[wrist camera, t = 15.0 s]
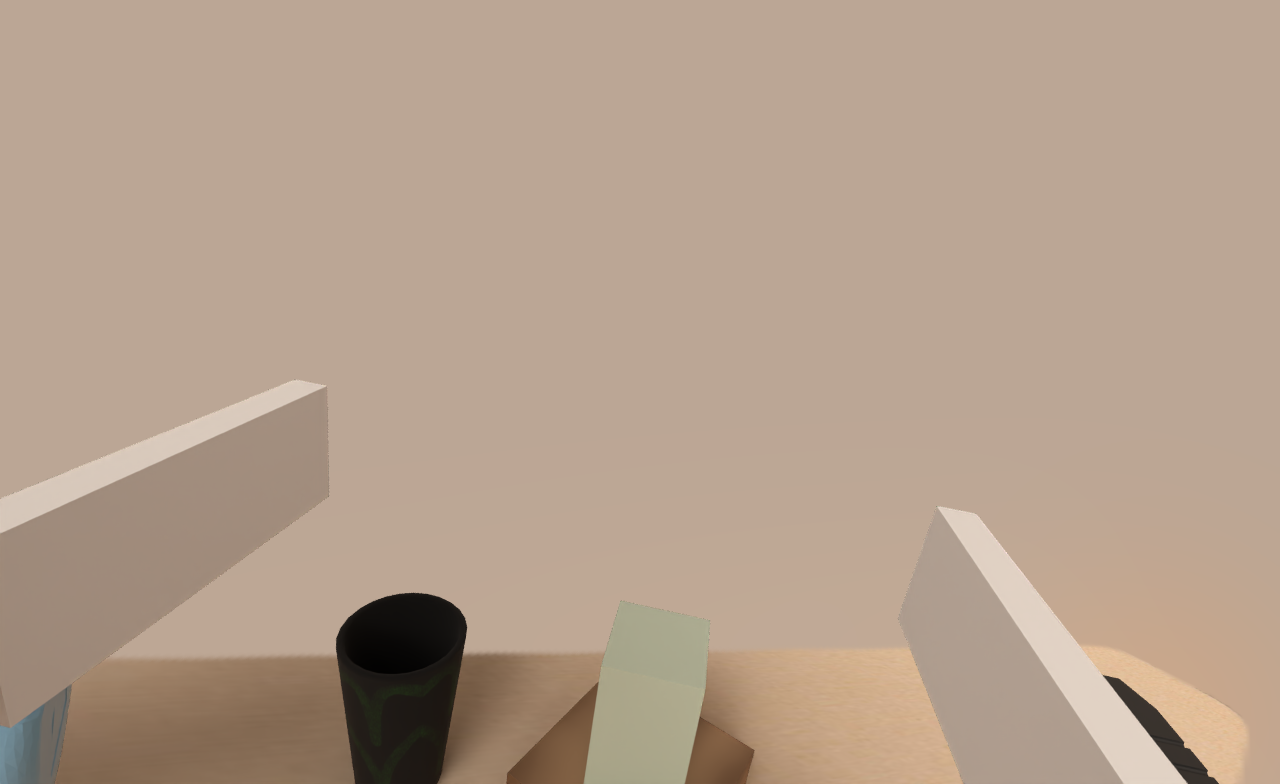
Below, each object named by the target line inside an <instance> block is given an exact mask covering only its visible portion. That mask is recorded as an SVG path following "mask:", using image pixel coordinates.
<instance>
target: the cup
mask: <svg viewBox="0 0 1280 784" xmlns="http://www.w3.org/2000/svg"><path fill="white" fill-rule="evenodd" d="M466 632H467V625H466V621H465V617H464V616H463V614H462V613H461V611H460V610H459V609H458V608H457V607H456V606H454V605H453V604H452V603H451V602H449V601H447V600H445V599H442V598H440V597H437V596H433V595H429V594H422V593H405V594H397V595H392V596H387V597H384V598H381V599H378V600H376V601H373V602H371V603H369V604H367V605H365V606H364V607H362V608H360V609H359V610H358V611H356V612H355V613H354V614H353V615H351V616H350V617H349V618H348V619H347V620H346V622H345V623H344V624H343V626H342V627H341V628H340V631H339V633H338V636H337V638H336V652H337V659H338V666H339V672H340V679H341V686H342V693H343V700H344V707H345V714H346V721H347V728H348V735H349V742H350V749H351V756H352V763H353V770H354V777H355V784H437V782H438V780H439V777H440V775H441V771H442V765H443V760H444V754H445V749H446V743H447V738H448V732H449V727H450V721H451V716H452V710H453V705H454V699H455V694H456V688H457V683H458V677H459V672H460V667H461V661H462V656H463V650H464V644H465V639H466Z"/></svg>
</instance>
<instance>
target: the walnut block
mask: <svg viewBox="0 0 1280 784" xmlns="http://www.w3.org/2000/svg"><path fill="white" fill-rule="evenodd" d="M598 684H599V682H598V683H597V684H596V685H595V686H594V687H593V688H592V689H591V690H590V691H589V692H588V693H587V694H586V695H585V696H584V697H583V698H582V699H581V700H580V701H579V702H578V703H577V704H576V705H575V706H574V707H573V708H572V709H571V710H570V711H569V712H568V713H567V714H566V715H565V716H564V717H563V718H562V719H561V720H560V721H559V722H558V723H557V724H556V725H555V726H554V727H553V728H552V729H551V730H550V731H549V732H548V733H547V734H546V735H545V736H544V737H543V738H542V739H541V740H540V741H539V742H538V743H537V744H536V745H535V746H534V747H533V748H532V749H531V750H530V751H529V752H528V753H527V754H526V755H525V756H524V757H523V758H522V759H521V760H520V761H519V762H518V763H517V764H516V765H515V766H514V767H513V768H512V769H511V770H510V771H509V772H508V775H507V784H584V778H585V771H586V765H587V758H588V751H589V744H590V738H591V731H592V724H593V718H594V711H595V704H596V698H597V691H598ZM753 754H754V750H753V749H751V748H750V747H748V746H747V745H745V744H743V743H742V742H740V741H738V740H737V739H735V738H733V737H732V736H730V735H729V734H727V733H725V732H724V731H722V730H720V729H719V728H717V727H715V726H714V725H712V724H711V723H709V722H707V721H706V720H704V719H702V718H701V717H699V721H698V726H697V730H696V735H695V739H694V744H693V749H692V753H691V758H690V762H689V767H688V771H687V776H686V780H685V784H745V783H746V780H747V776H748V772H749V769H750V765H751V761H752V758H753Z"/></svg>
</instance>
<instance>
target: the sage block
mask: <svg viewBox="0 0 1280 784" xmlns="http://www.w3.org/2000/svg"><path fill="white" fill-rule="evenodd" d="M709 629H710V620H706V619H702V618H697V617H693V616H688V615H683V614H679V613H674V612H670V611H665V610H661V609H656V608H652V607H647V606H643V605H638V604H634V603H629V602H625V601H620V605H619V608H618V611H617V615H616V618H615V621H614V624H613V628H612V631H611V635H610V638H609V641H608V645H607V648H606V651H605V655H604V658H603V661H602V665H601V671H600V677H599V684H598V691H597V698H596V704H595V711H594V718H593V724H592V731H591V738H590V744H589V751H588V758H587V765H586V771H585V778H584V784H685V780H686V776H687V771H688V767H689V762H690V758H691V753H692V749H693V744H694V739H695V735H696V730H697V726H698V721H699V717H700V712H701V708H702V703H703V698H704V694H705V689H706V674H707V659H708V643H709Z"/></svg>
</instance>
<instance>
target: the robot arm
mask: <svg viewBox="0 0 1280 784" xmlns="http://www.w3.org/2000/svg"><path fill="white" fill-rule="evenodd" d="M328 466H329V465H328V407H327V386H325V385H320V384H315V383H310V382H304V381H299V380H293V381H290V382H288V383H285V384H283V385H280V386H278V387H275V388H273V389H270V390H268V391H266V392H263V393H260V394H258V395H256V396H253V397H251V398H248V399H246V400H243V401H241V402H238V403H236V404H233V405H231V406H228V407H226V408H223V409H221V410H218V411H216V412H214V413H211V414H208V415H206V416H204V417H201V418H199V419H196V420H194V421H192V422H189V423H186V424H184V425H181V426H179V427H176V428H174V429H171V430H169V431H166V432H164V433H161V434H159V435H156V436H154V437H152V438H149V439H147V440H144V441H142V442H139V443H137V444H134V445H132V446H129V447H127V448H124V449H122V450H119V451H117V452H114V453H112V454H109V455H107V456H105V457H102V458H100V459H97V460H95V461H92V462H90V463H87V464H85V465H82V466H80V467H77V468H75V469H72V470H70V471H67V472H65V473H62V474H60V475H57V476H55V477H52V478H50V479H47V480H45V481H42V482H40V483H38V484H35V485H33V486H30V487H28V488H25V489H23V490H20V491H18V492H15V493H12V494H11V495H8V496H5V497H3V498H0V784H55V779H56V775H57V771H58V766H59V762H60V757H61V752H62V747H63V741H64V735H65V729H66V723H67V716H68V709H69V701H70V694H71V686H72V683H73V682H75V681H76V680H77V679H79V678H80V677H81V676H83V675H84V674H86V673H87V672H88V671H90V670H91V669H92V668H94V667H95V666H96V665H98V664H99V663H101V662H102V661H103V660H105V659H106V658H107V657H109V656H110V655H112V654H113V653H114V652H116V651H117V650H118V649H119V648H121V647H122V646H124V645H125V644H127V643H128V642H129V641H131V640H132V639H134V638H135V637H136V636H138V635H139V634H140V633H142V632H143V631H145V630H146V629H147V628H149V627H150V626H151V625H153V624H154V623H156V622H157V621H158V620H160V619H161V618H162V617H164V616H165V615H167V614H168V613H169V612H171V611H172V610H173V609H175V608H176V607H177V606H179V605H180V604H182V603H183V602H184V601H186V600H187V599H189V598H190V597H191V596H193V595H194V594H195V593H197V592H198V591H199V590H201V589H202V588H204V587H205V586H206V585H208V584H209V583H211V582H212V581H213V580H214V579H216V578H217V577H219V576H220V575H222V574H223V573H224V572H225V571H227V570H228V569H230V568H231V567H233V566H234V565H235V564H237V563H238V562H239V561H241V560H242V559H243V558H245V557H246V556H248V555H249V554H250V553H252V552H253V551H254V550H256V549H257V548H259V547H260V546H261V545H263V544H264V543H266V542H267V541H268V540H270V539H271V538H272V537H274V536H275V535H277V534H278V533H279V532H280V531H282V530H283V529H285V528H286V527H288V526H289V525H290V524H292V523H293V522H294V521H296V520H297V519H299V518H300V517H301V516H303V515H304V514H305V513H307V512H308V511H309V510H311V509H312V508H314V507H315V506H316V505H318V504H319V503H321V502H322V501H323V500H325V499H326V498H327V497H329V468H328ZM898 620H899V623H900V625H901V627H902V630H903V632H904V635H905V638H906V640H907V643H908V645H909V648H910V650H911V653H912V655H913V658H914V660H915V663H916V665H917V668H918V670H919V673H920V675H921V678H922V680H923V683H924V685H925V688H926V690H927V693H928V695H929V698H930V700H931V703H932V706H933V708H934V711H935V713H936V716H937V718H938V721H939V723H940V726H941V728H942V731H943V733H944V736H945V738H946V741H947V743H948V746H949V748H950V751H951V753H952V756H953V758H954V761H955V763H956V766H957V768H958V771H959V773H960V776H961V778H962V781H963V783H964V784H1219V783H1218V782H1217V781H1216V780H1215V778H1213V777H1209V776H1208V774H1207V771H1208V770H1207V769H1206V768H1205V767H1204V765H1203V764H1202V763H1201V762H1200V761H1199V759H1198V758H1197V757H1196V756H1195V755H1194V753H1193V752H1192V751H1191V750H1190V749H1188V748H1185V747H1184V741H1183V740H1182V739H1181V738H1180V737H1179V735H1178V734H1177V733H1176V732H1175V731H1174V730H1173V728H1172V727H1171V726H1170V725H1169V724H1168V722H1167V721H1166V720H1165V719H1164V718H1163V716H1162V715H1161V714H1160V713H1159V712H1158V710H1157V709H1156V708H1154V707H1153V706H1152V705H1151V704H1149V703H1148V702H1147V701H1146V700H1145V699H1143V698H1142V697H1141V696H1140V695H1138V694H1137V693H1136V692H1135V691H1133V690H1132V689H1131V688H1130V687H1129V686H1127V685H1126V684H1125V683H1124V682H1122V681H1121V680H1120V679H1118V678H1113V677H1109V676H1104V675H1102V674H1101V673H1100V671H1099V670H1098V669H1097V668H1096V666H1095V665H1094V664H1093V662H1092V661H1091V660H1090V659H1089V657H1088V656H1087V655H1086V654H1085V652H1084V651H1083V650H1082V648H1081V647H1080V646H1079V645H1078V643H1077V642H1076V641H1075V640H1074V638H1073V637H1072V636H1071V634H1070V633H1069V632H1068V631H1067V629H1066V628H1065V627H1064V626H1063V624H1062V623H1061V622H1060V620H1059V619H1058V618H1057V617H1056V615H1055V614H1054V613H1053V611H1052V610H1051V609H1050V608H1049V606H1048V605H1047V604H1046V603H1045V601H1044V600H1043V599H1042V598H1041V596H1040V595H1039V594H1038V592H1037V591H1036V590H1035V588H1034V587H1033V586H1032V585H1031V583H1030V582H1029V581H1028V579H1027V578H1026V577H1025V576H1024V574H1023V573H1022V572H1021V571H1020V569H1019V568H1018V567H1017V566H1016V564H1015V563H1014V562H1013V560H1012V559H1011V558H1010V557H1009V555H1008V554H1007V553H1006V551H1005V550H1004V549H1003V548H1002V546H1001V545H1000V544H999V542H998V541H997V540H996V539H995V537H994V536H993V535H992V534H991V532H990V531H989V530H988V528H987V527H986V526H985V525H984V523H983V522H982V521H981V519H980V518H979V517H978V516H977V515H976V514H975V513H970V512H965V511H959V510H954V509H950V508H945V507H940V506H936V509H935V512H934V515H933V518H932V521H931V524H930V527H929V530H928V533H927V536H926V538H925V541H924V544H923V547H922V550H921V553H920V556H919V559H918V562H917V564H916V568H915V571H914V573H913V576H912V579H911V582H910V585H909V588H908V591H907V594H906V597H905V599H904V602H903V605H902V608H901V611H900V614H899V617H898Z"/></svg>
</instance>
